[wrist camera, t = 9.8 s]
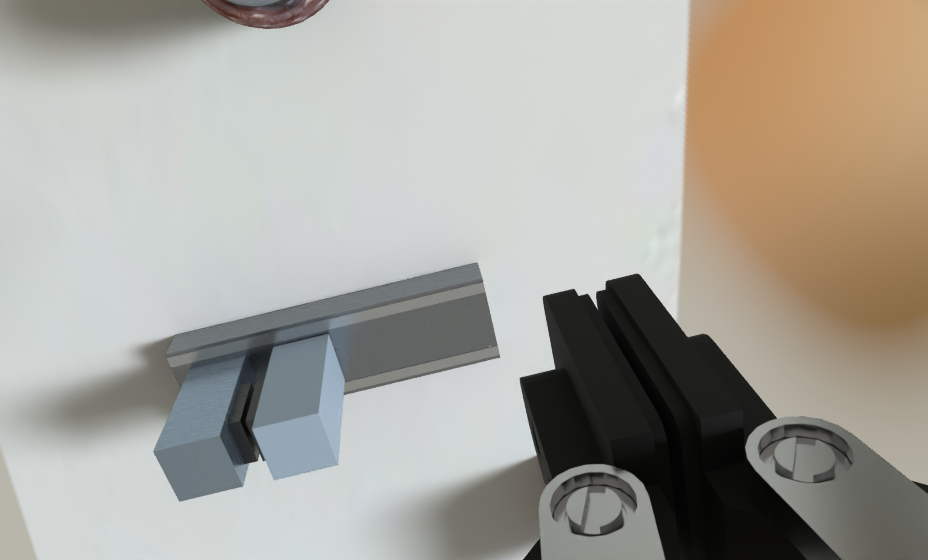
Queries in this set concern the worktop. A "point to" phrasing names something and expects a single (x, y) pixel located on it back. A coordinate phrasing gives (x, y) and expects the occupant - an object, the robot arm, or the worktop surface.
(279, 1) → the supplement bottle
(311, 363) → the block
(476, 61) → the worktop surface
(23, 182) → the worktop surface
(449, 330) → the rail
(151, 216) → the worktop surface
